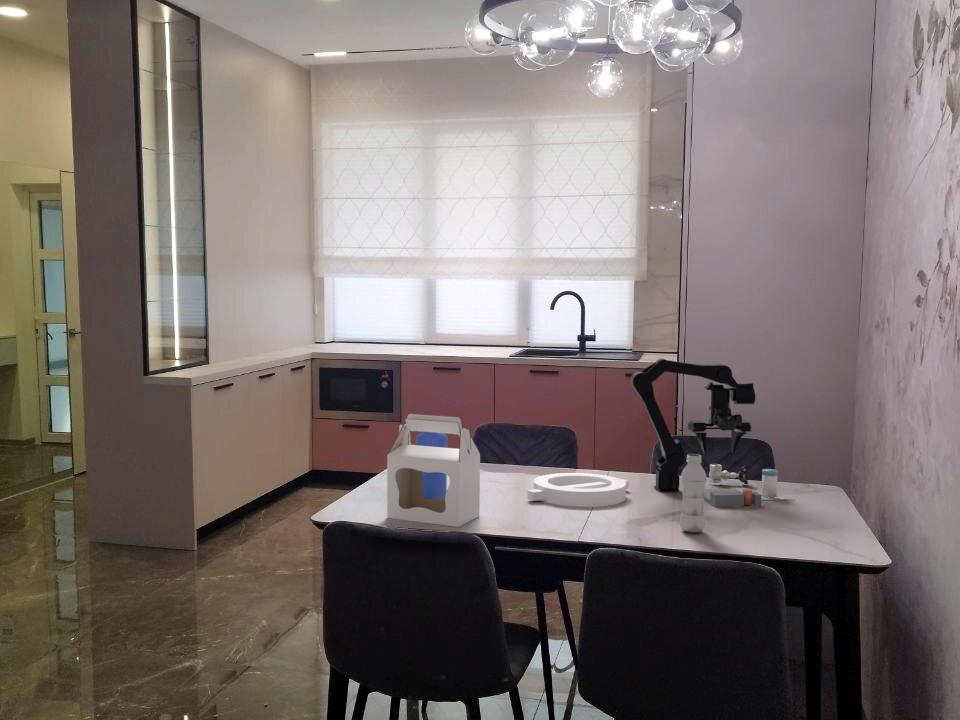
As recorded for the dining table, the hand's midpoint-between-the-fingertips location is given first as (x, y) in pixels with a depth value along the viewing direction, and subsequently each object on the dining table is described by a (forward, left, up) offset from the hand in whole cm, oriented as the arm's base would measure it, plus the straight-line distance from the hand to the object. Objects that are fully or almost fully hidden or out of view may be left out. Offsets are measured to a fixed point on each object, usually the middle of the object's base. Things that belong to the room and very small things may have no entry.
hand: (718, 453), depth 267 cm
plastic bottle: (-25, -48, -12) cm, 56 cm away
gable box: (-91, -29, -12) cm, 96 cm away
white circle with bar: (-46, -5, -13) cm, 48 cm away
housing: (-2, -12, -12) cm, 17 cm away
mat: (+13, -9, -12) cm, 20 cm away
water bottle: (-91, -8, -12) cm, 92 cm away
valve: (+7, +9, -12) cm, 17 cm away
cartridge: (+13, -9, -12) cm, 20 cm away
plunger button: (+1, -19, -12) cm, 23 cm away
